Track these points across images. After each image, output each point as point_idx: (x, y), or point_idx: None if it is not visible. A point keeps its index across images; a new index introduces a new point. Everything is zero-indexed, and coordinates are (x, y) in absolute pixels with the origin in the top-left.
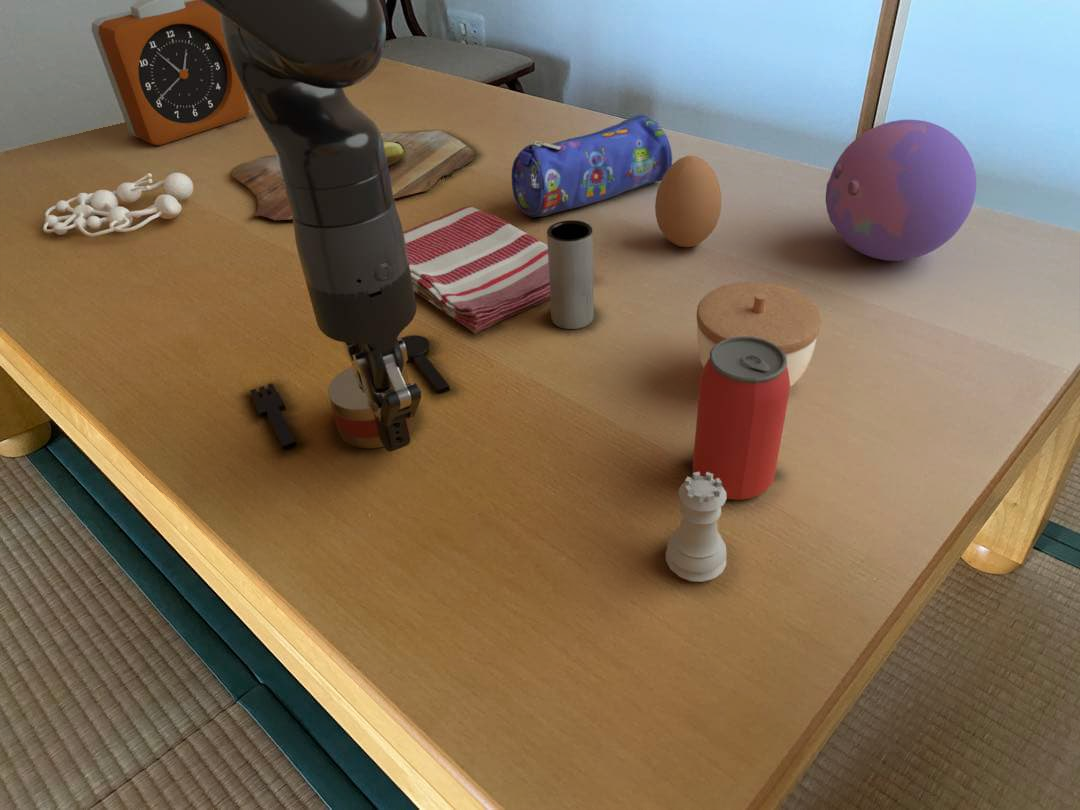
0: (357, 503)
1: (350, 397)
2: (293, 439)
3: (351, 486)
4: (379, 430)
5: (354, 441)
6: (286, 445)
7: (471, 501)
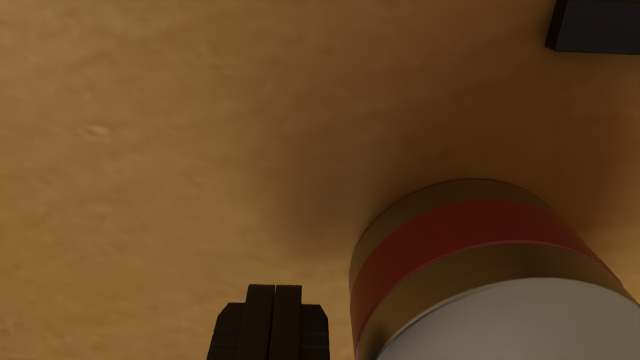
0: (163, 117)
1: (487, 336)
2: (568, 47)
3: (245, 128)
4: (272, 331)
5: (406, 210)
6: (561, 13)
7: (52, 334)
